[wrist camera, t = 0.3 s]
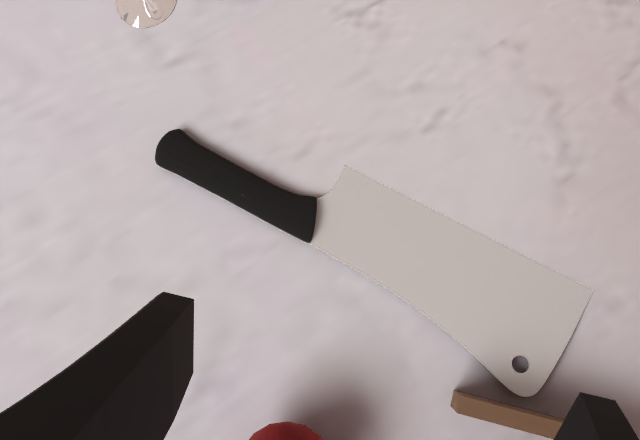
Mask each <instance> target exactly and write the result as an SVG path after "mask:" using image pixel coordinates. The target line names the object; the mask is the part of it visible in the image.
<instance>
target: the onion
mask: <svg viewBox="0 0 640 440" xmlns="http://www.w3.org/2000/svg"><path fill="white" fill-rule="evenodd" d="M249 440H322V438H321V436H319V435H318V434H316V433H315V432H313V431H312V430H311V429H309V428H308V427H306V426H305V425H300V424H296V423H292V422H282V423H274V424H269V425H267V426H266V427H264V428H262V429H261V430H259V431H257V432H256V433H254V434H253V435H252V436H251V438H250V439H249Z"/></svg>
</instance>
